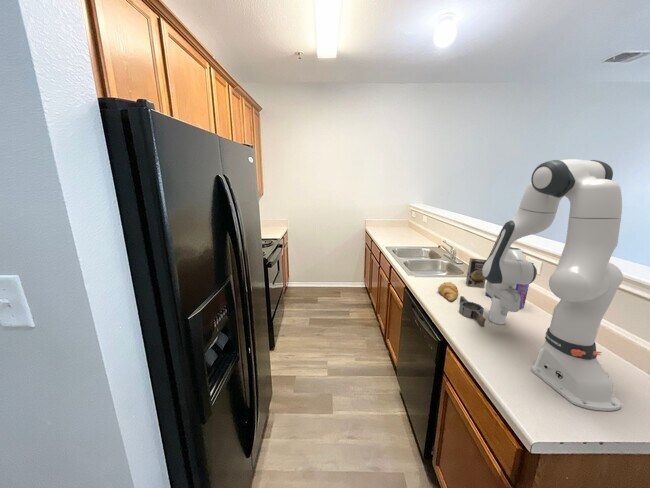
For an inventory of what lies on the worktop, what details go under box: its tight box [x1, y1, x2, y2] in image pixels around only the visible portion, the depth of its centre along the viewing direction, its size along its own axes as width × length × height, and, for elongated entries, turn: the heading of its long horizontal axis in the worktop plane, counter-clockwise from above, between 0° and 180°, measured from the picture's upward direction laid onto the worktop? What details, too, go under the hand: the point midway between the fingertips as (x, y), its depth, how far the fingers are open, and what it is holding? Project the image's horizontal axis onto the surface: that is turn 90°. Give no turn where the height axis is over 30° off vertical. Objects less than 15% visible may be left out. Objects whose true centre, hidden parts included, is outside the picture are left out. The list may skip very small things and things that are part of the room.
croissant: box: [437, 281, 459, 302], centre depth 150 cm, size 21×10×8 cm, turn 166°
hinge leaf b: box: [459, 295, 485, 315], centre depth 132 cm, size 16×10×4 cm, turn 177°
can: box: [488, 295, 508, 325], centre depth 122 cm, size 6×6×12 cm
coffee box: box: [465, 257, 487, 289], centre depth 162 cm, size 9×6×16 cm
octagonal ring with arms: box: [458, 306, 486, 328], centre depth 126 cm, size 16×10×4 cm, turn 177°
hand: (498, 311), depth 122 cm, fingers closed on can, 6 cm apart
